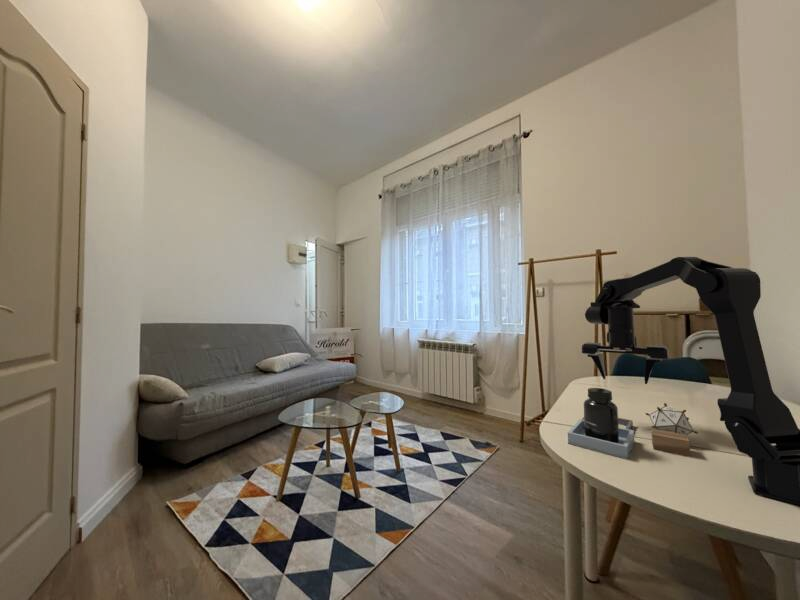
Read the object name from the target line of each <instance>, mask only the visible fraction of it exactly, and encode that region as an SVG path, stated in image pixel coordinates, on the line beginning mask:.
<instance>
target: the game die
mask: <svg viewBox="0 0 800 600" xmlns="http://www.w3.org/2000/svg"><path fill="white" fill-rule="evenodd" d="M656 407H657V408H656V409H657V410H655V411H653V412H651V413H650V414H649V413H648V412H646V413H645V415H646V416H649V420H650V421H651V423H652V425H651V429H655V430H661V431H667V432H673V433H679V434H685V435H687V436H688V435H690V434H693V433H694V434H696V435H697V434H699V432H698V431H696V430H694V429H693V427H692V425H691V423H690V421H689V420H690V418H689V417H687V416H686V414H685V413H686V412H687V409H683V410H682V411H681V410H679V409H676V408H673V407H669V406H668V404H667V403H665V402H664V403H663V407H660V406H656Z"/></svg>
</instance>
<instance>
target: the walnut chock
mask: <svg viewBox="0 0 800 600" xmlns="http://www.w3.org/2000/svg"><path fill="white" fill-rule="evenodd" d="M650 433H651V443H652V448H653V450H655V451H660V452H664V453H670V454H674V455H675V454H676V455H679V456H684V457H689V458H691V447H690V446H691V445H690V443H691V442H690V440H689V438H688V435H685V434H679V433H673V432H667V431H661V430H656V429H655V428H651V432H650Z"/></svg>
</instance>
